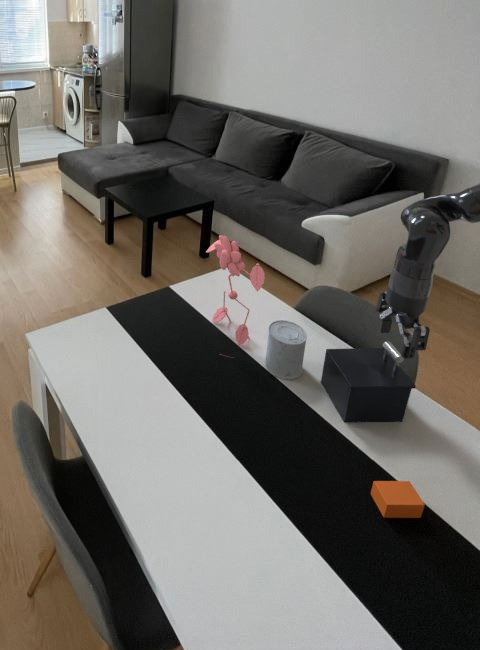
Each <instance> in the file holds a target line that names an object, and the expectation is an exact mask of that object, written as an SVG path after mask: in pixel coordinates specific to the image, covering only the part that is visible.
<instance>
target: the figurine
mask: <svg viewBox="0 0 480 650" xmlns="http://www.w3.org/2000/svg"><path fill="white" fill-rule="evenodd" d="M214 251H216V256H217V258H218V259H219V266H220V269H221V270H223V271H226V269H227V271H228V273H229V274H228V282H229V286H230V290H229V291H227V290H223V306H221V307H219V308H218V309H216V311H215V312H214V314H213V316H212V320H211V322H212V321H213V322H212V323H219V322H221V321H222V320H223V319H224V318H225V317H226V318H227V320H228V321H229V322H230V321H231V322H232V319H231V317H230V315H229V314H228V308H227V307H226V304H225V303H226V294H227V296H228V298H229V299H230V300H234V301H236V302H237V303H238V304H239V305H241V306H242V307H244V309H246V310H247V312H246V317H245V320H244V322H243V324H239V325H238V327H237V328H236V330H235V340H236V343H237V344H238V347H241V346H243V345H244V344H245V343H246V342H247V340H251V338H250V336H249V328H248V326H247V325H246V323H247V320H248V318H249V315H250V308H249V307H247V306H245V304H243V303H242V302H241V301H240V300H238V296H239V295H238V292H237V291H235V290H234V289H233V285H232V280H231V277H235V276H236V277H240V276H241V271H242V272H244V273H245V274H247V276H249V278H250V283H251V286H252V287H253V288H254V290H255V291H256V292H259V291H260V290H261V289H262V287H263V285H264V283H265V280H266V276H265V271H264V268H263V267H262V266H261V264H260V263H256V264H255V265H254V266H253V267H252V269H251V271H250V273H249V272H248V271H247V270H245V269H246V264H245V262H244V261H243V260H242V253H241V252H240V246H239V244H238V241H237V240H233V241H230V239H229V238H228V237H227V236H226V235H222V234H220V235H219V236H218V240H216V241H215V242H213V243H212V244H211V245H210V246H208V249H207V250H206V251H205V253H207V254H208V253H212V252H214ZM220 356H223V357H226V358H229V356H228V355H224V354H221V353H220ZM230 358H231V359H234V357H232V356H230Z"/></svg>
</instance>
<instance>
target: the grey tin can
mask: <svg viewBox="0 0 480 650" xmlns="http://www.w3.org/2000/svg"><path fill="white" fill-rule="evenodd" d="M307 339H308V335H307V332H306V330H305V329H304V328H303V327H302V326H301V325H299V324H297V323H295V322H293V321H289V320H284V319H283V320H282V319H280V320H275V321H272V322H271V323H270V324H269V325H268V333H267V344H266V354H265V360H264V364H265V367H266V369H267V370H268V372H269V373H271V374H272V375H274V376H275V377H278V378H280V379H283V380H295V379H298V378H300V377H301V375H302V373H303V365H304V358H305V350H306V343H307Z"/></svg>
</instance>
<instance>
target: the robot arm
mask: <svg viewBox="0 0 480 650" xmlns="http://www.w3.org/2000/svg"><path fill="white" fill-rule="evenodd" d="M400 220H401V224H402V225H403V227H404V228H405V230H406V231H407V234H408V235H407V241H406V242H405V243H403V244H401V245H400V246H399V248H398V249H397V252H396V257H395V260H394V265H393V267H392V271H391V273H390V274H389V275H390V276H389V281H388V284H387V288H386V291H380V292H379V295H378V298H377V302H376V307H375V311H376V313H379V318H380V322H379V328H378V331H379V332H380V333H381V334H389V333H390V332H391V328H392V325H393V323H395V324H396V326H397V327H398V330H399V334H400V336H402V337H403V342H404V343H403V347H402V350H401V353H400V354H401V356H402V357H403V358H404V360H409V359H410V360H411V359H414V358H415V355H416V352H417V351H426V350H427V345H428V341H429V337H430V332H431V330H430V327H429V326H423V325H422V324H421V323H420V316H421V315H422V314H423V313H425V312H426V310H427V307H428V303H429V299H430V296H431V291H432V288H433V283H434V274H435V272H436V271H435V270H436V267H437V262H438V260H439V258H440V257H441V256H442V254H443V253H444V251H445V249H446V248H447V246H448V245H449V243H450V241H451V237H452V225H451V223H453V222H456V221H464V222H466V223H470V224H479V223H480V182H479V183H477V184H473V185H471V186H469V187H466V188H463V189H462V190H459V191H456V192H451V193H445V194H444V193H443V194H438V195H435V196H430V197H427V198H423V199H418V200H416V201H414V202H412V203H410V204H408V205H407V206H406V207H404V209H403V210H402V212H401V214H400ZM410 329H411V330H412V331H406V330H410ZM410 337H411V340H410Z"/></svg>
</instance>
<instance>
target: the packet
mask: <svg viewBox="0 0 480 650" xmlns="http://www.w3.org/2000/svg"><path fill="white" fill-rule="evenodd" d="M370 496H371V498H372V499H373V501H374V503H375V506H377V508H378V510H379V513H381V515H382V517H383V518H384V519H385V518H386V519H421V518H422V515H423V512H424V509H425V505H426V504H425V503H424V501H423V499H422V498H421V497H420V494H419V493H418V492H417V491H416V489H415V488H414V486H413V484H412V483H411V481H410V480H374V481H373V482H372V487H371V489H370Z"/></svg>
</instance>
